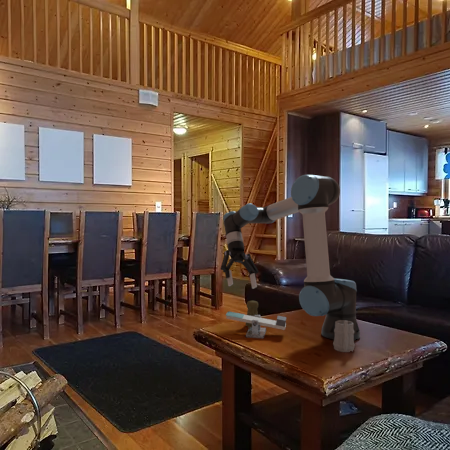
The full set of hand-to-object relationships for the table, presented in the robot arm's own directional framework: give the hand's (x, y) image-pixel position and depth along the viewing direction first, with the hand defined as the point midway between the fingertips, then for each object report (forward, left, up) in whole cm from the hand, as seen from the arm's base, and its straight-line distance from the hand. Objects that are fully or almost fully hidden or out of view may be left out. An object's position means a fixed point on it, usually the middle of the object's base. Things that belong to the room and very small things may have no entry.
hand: (243, 286), depth 188 cm
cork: (-2, -4, -17) cm, 18 cm away
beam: (-15, -2, -12) cm, 19 cm away
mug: (-42, -27, -17) cm, 52 cm away
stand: (-15, -2, -17) cm, 22 cm away
